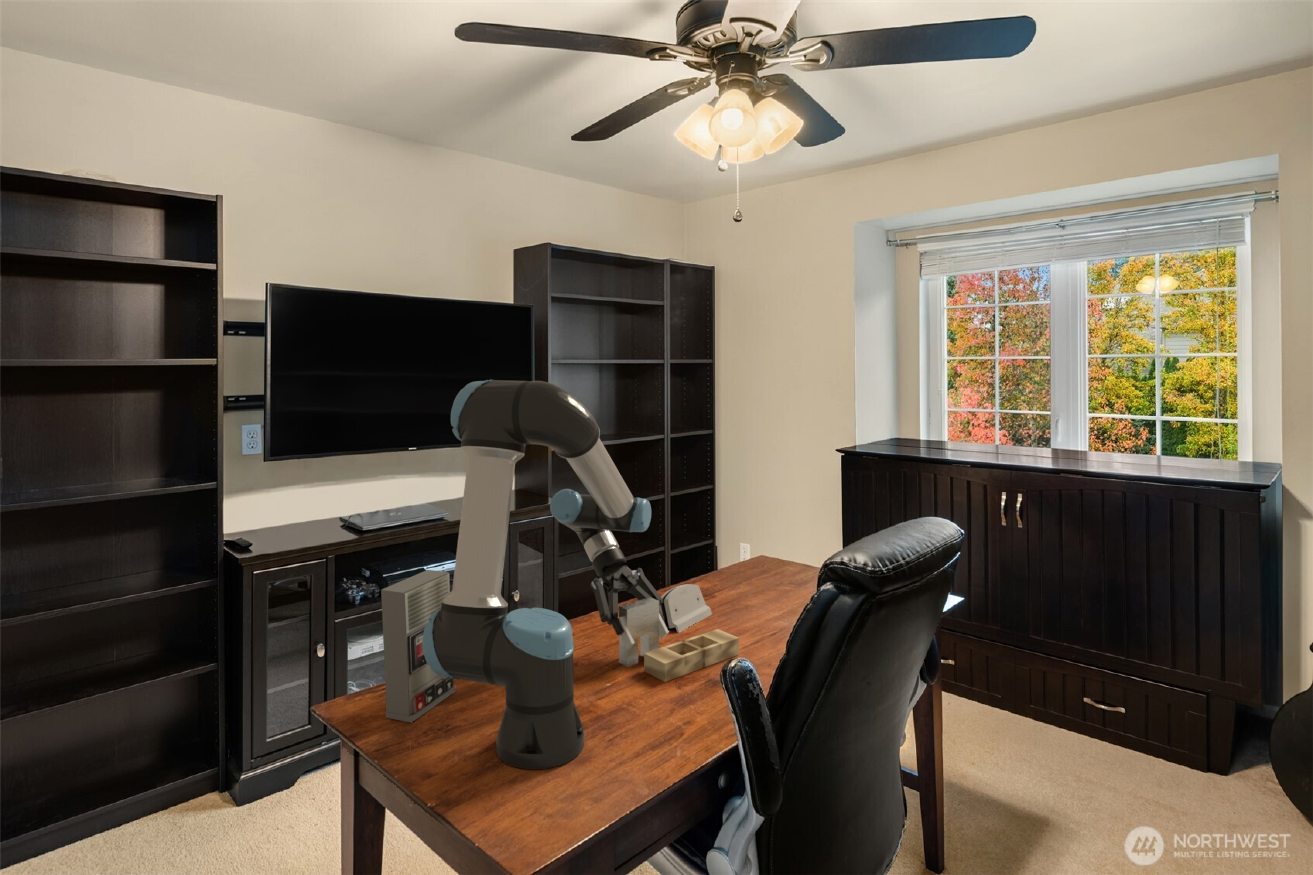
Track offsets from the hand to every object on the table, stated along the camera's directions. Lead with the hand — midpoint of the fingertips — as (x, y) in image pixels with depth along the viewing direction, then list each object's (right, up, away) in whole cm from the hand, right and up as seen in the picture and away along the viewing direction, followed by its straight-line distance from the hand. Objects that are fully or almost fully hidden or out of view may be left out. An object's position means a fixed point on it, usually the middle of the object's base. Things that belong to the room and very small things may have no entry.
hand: (648, 640), depth 161 cm
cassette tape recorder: (-44, -8, -18) cm, 48 cm away
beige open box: (+10, -5, +1) cm, 11 cm away
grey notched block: (-2, -5, +3) cm, 6 cm away
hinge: (+9, -3, +28) cm, 29 cm away
